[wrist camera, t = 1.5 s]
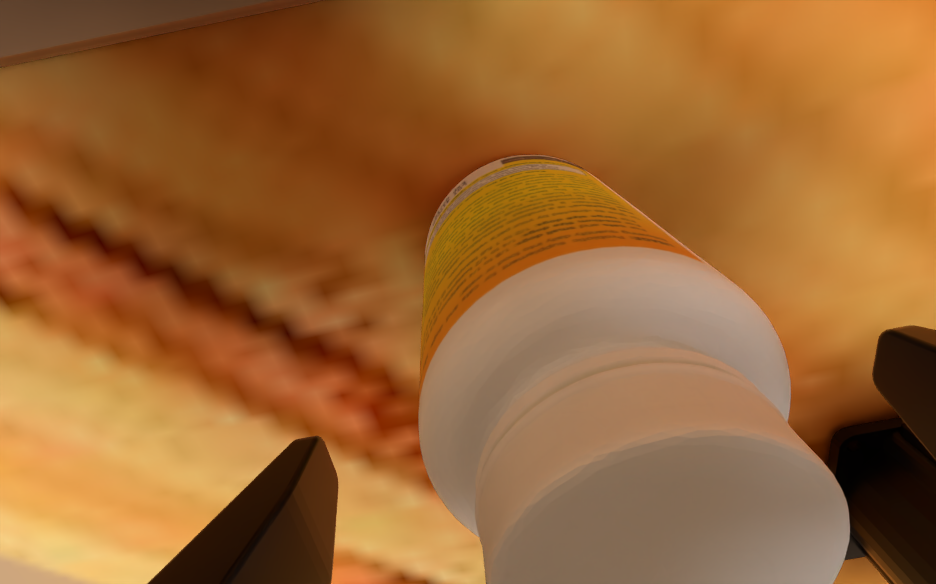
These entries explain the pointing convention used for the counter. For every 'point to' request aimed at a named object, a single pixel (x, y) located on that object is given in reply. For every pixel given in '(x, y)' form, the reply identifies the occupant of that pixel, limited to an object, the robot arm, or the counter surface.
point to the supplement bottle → (608, 397)
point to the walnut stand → (108, 22)
